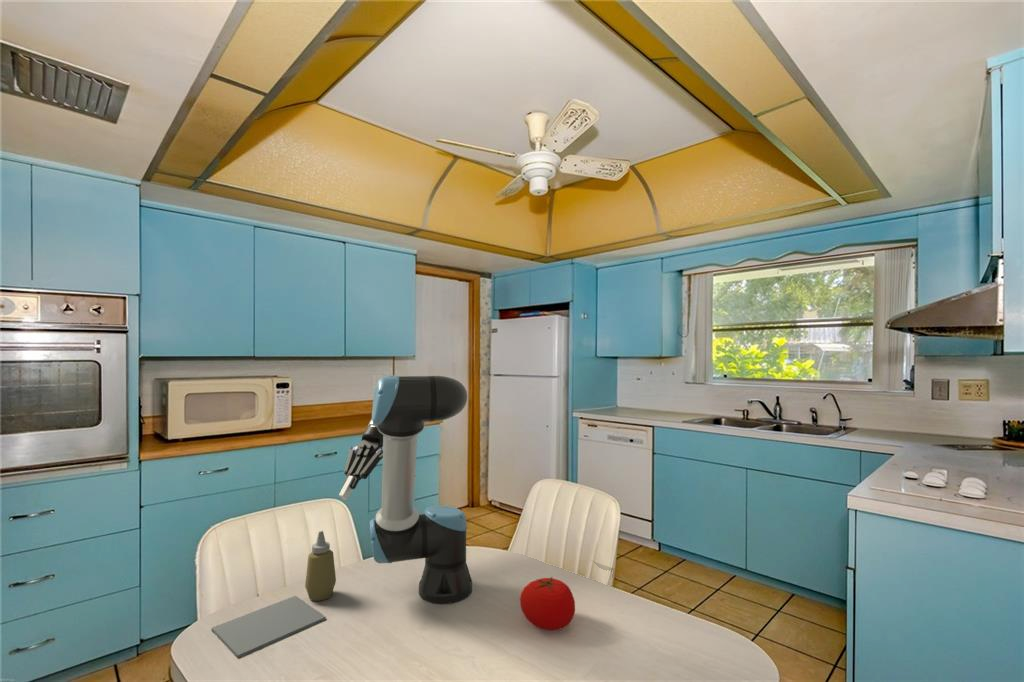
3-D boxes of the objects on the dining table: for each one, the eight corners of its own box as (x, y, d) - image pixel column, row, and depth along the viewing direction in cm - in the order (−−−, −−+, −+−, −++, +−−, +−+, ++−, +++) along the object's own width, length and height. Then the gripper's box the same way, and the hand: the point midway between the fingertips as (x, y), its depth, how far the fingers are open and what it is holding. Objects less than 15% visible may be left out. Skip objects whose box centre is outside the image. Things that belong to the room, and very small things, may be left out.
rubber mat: (325, 619, 127) (325, 616, 127) (237, 658, 111) (237, 655, 111) (295, 597, 138) (295, 595, 138) (211, 630, 122) (211, 627, 122)
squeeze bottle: (342, 591, 141) (342, 528, 141) (322, 605, 134) (322, 538, 134) (319, 587, 144) (319, 525, 144) (298, 600, 136) (298, 535, 136)
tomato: (586, 623, 125) (586, 582, 125) (554, 646, 116) (554, 601, 116) (542, 603, 135) (542, 565, 135) (510, 622, 126) (510, 581, 126)
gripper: (399, 440, 163) (366, 506, 148) (366, 437, 168) (331, 501, 152) (389, 426, 158) (355, 493, 143) (356, 424, 163) (319, 488, 147)
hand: (343, 497), depth 148 cm, fingers closed
